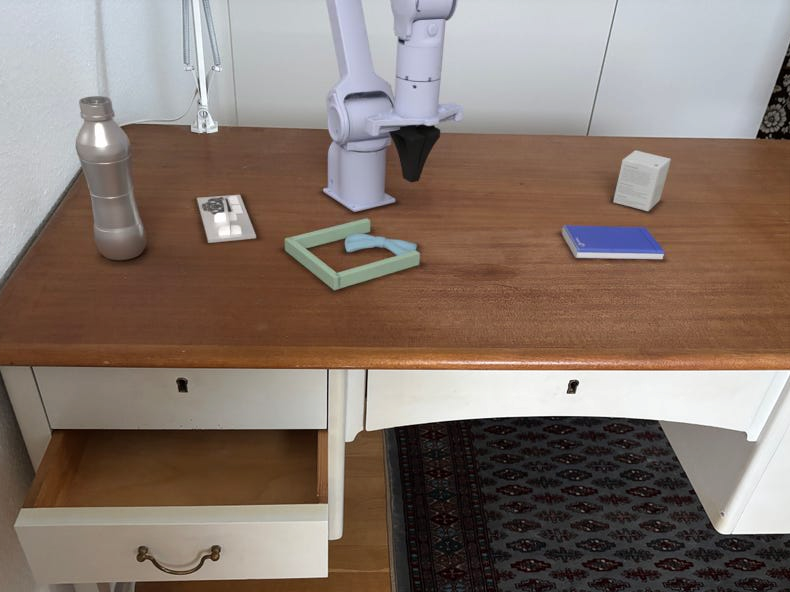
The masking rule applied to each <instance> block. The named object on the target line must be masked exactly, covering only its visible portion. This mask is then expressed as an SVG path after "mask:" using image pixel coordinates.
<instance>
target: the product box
mask: <svg viewBox="0 0 790 592" xmlns="http://www.w3.org/2000/svg"><path fill="white" fill-rule="evenodd" d="M671 161H672V159H671V158H670V157H666V156H660V155H657V154H653V153H648V152H644V151H641V150H633V151H632V152H631V153H630V154H628V155H627V156H626V157H624V158H623V159H622V160H621V165H620V169H619V173H618V176H617V177H618V178H617V182H616V186H615V190H614V196H613V200H612V203H613V204H618V205H621V206H625V207H628V208H632V209H637V210H640V211H645V212H649V211H650V210H652V209H653V208H654V206H656V204H657V203H659V202H660V201H661V198H662V194H663V190H664V187H665V183H666V180H667V176H668V172H669V168H670V166H671V165H670V164H671Z"/></svg>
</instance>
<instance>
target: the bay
mask: <svg viewBox="0 0 790 592" xmlns="http://www.w3.org/2000/svg"><path fill="white" fill-rule="evenodd" d="M370 232H371V220H370V219H369V218H367V217H366V218H362V219H358V220H354V221H350V222H346V223H342V224H338V225H334V226H330V227H326V228H321V229H318V230H314V231H310V232H306V233H301V234H298V235H294V236H289V237H286V238H284V251H285V252H286V253H288V254H289V255H290V256H291V257H293V258H294V259H295V260H296V261H297V262H298V263H300V264H301V265H303V267H305V268H306V269H307V270H308V271H309V272H311V273H312V274H314V275H315V276H316V277H317V278H318V279H319V280H321V281H322V282H323V283H325V285H327V286H328V287H329V288H331V290H333V291H337V290H340V289H343V288H346V287H349V286H353V285H356V284H360V283H364V282H366V281H369V280H374V279H376V278H380V277H383V276H387V275H389V274H393V273H397V272H400V271H403V270H406V269H410V268H414V267H416V266H420V261H421V260H420V259H421V253H420V252H419V251H418V250H417V249H416V250H415V251H412V252H408V253H405V254H401V255H398V256H397V255H395V256H391V257H388V258H384V259H380V260H377V261H374V262H371V263H367V264H363V265H360V266H356V267H353V268H350V269H346V270H343V271H338V272H337V271H335V270H334V269H333V268H331V267H330V266H329V265H328V264H326V263H325V262H323V260H321V259H320V258H319V257H317V256H316V255H315V254H314V253H312V252H311V251H309V250H308V249H309V248H310V249H311V248H313V247H316V246H317V247H318V246H321V245H324V244H325V245H326V244H328V243H329V244H330V243H332V242H336V241H340V240H344V239H346V237H347V236H349V235H353V234H358V233H361V234H367V233H370Z"/></svg>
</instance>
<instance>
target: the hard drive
mask: <svg viewBox="0 0 790 592" xmlns="http://www.w3.org/2000/svg"><path fill="white" fill-rule="evenodd" d="M561 236H562V237H563V239H564V240H565V243H566V245H567V246H568V248H569V249H570V251H571V253H572V255H573V256H574V258H575V259H612V260H613V259H617V260H663V259H664V255H665V249H664V248H663V247H662V246H661V244H660V243H659V242H658V241H657V240H656V239H655V237H654V236H653V235H652V234H651V233H650V231H649V230H648V228H647V227H645V226H605V225H604V226H603V225H573V224H572V225H568V224H567V225H565V224H564V225H562V229H561Z"/></svg>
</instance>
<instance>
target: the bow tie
mask: <svg viewBox="0 0 790 592" xmlns="http://www.w3.org/2000/svg"><path fill="white" fill-rule="evenodd" d="M344 239H345V240H344V247H345V251H346V252H347V253H353V252H356V251H360V250H365V249H372V248H379V249H386V250H388V251H390V252H391V253H392V254H394V255H395V256H398V255H401V254H405V253H408V252H412V251H415V250H416V251H417V248H418V245H417V244H416V243H415V242H410V241H406V240H402V239H394V238H393V239H391V238H387V237H384V236H374V235H371V234H367V233H364V234H361V233H358V234H353V235H349V236H347V237H346V238H344Z"/></svg>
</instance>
